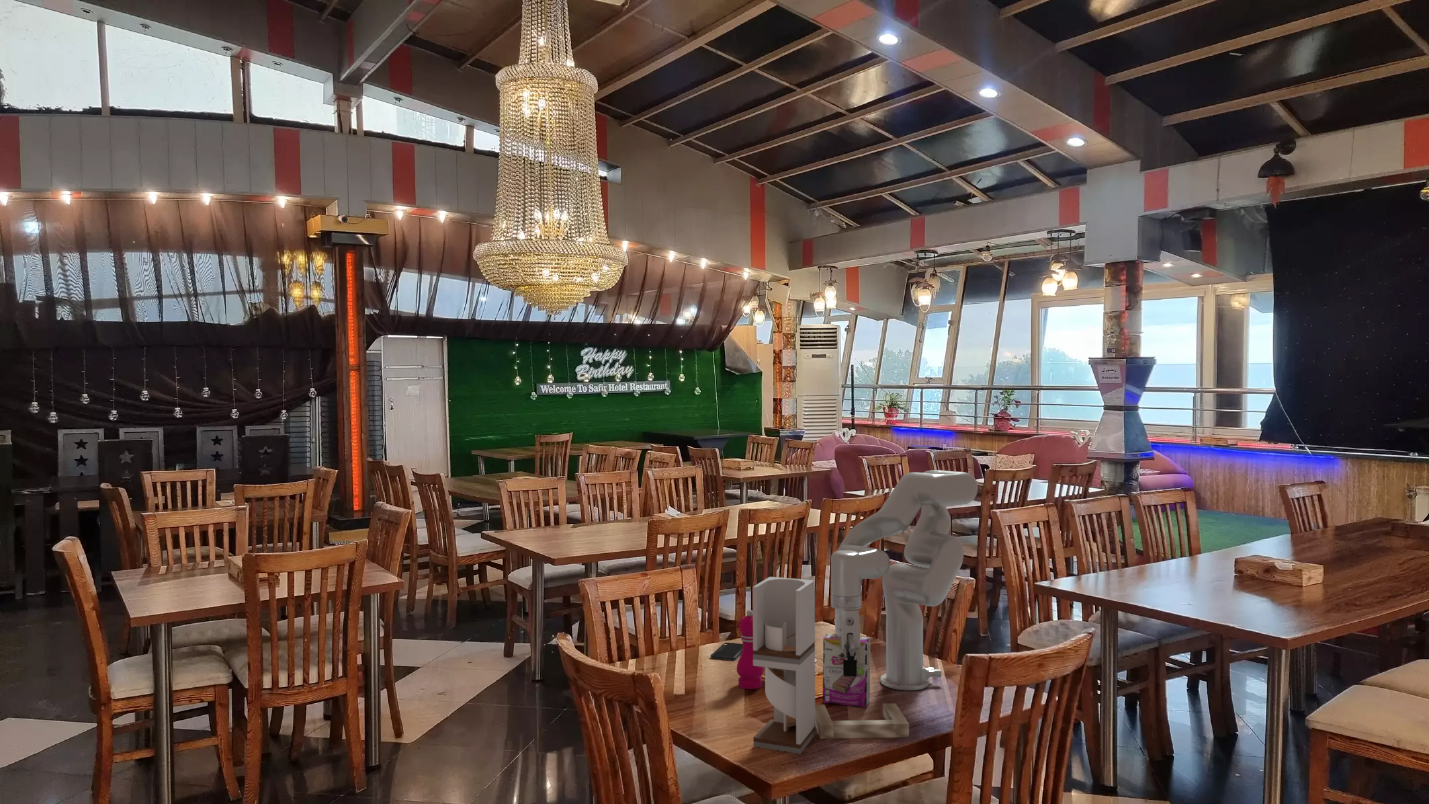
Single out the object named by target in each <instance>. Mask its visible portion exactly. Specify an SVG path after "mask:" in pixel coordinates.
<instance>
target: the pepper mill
mask: <svg viewBox="0 0 1429 804" xmlns="http://www.w3.org/2000/svg"><path fill="white" fill-rule="evenodd" d="M738 629H739V631H740V632H741V634H740V640H741V641H742V644H743V650H742V654H741V656H740V657H739V658H738V661H737V664H736V672H737V674H738V676H739V677H738V687H739V688H741V689H745V690H757V689H760V688H762V686H763V679H762V675H763V674H764V673H765V667H760V666H753V609H752V610H751V609H748V610H747V611H746V615H744V616H743V617H741V619H740V620H739V622H738Z"/></svg>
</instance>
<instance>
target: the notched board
mask: <svg viewBox="0 0 1429 804" xmlns="http://www.w3.org/2000/svg"><path fill="white" fill-rule="evenodd" d="M882 717H883V719H871V720H864V719H863V720H862V719H861V720H859V719H858V720H832V719H831V716H830V714H829V712H828V710H827V708H826V705H825V704H815V730H816V731H817V734H818V736H819V739H821V740H823V739H826V740H827V739H875V738H876V739H878V738H880V739H881V738H883V739H885V738H888V739H889V738H910V723H909V722H908V720H907V718H906V717H905V715H904V714H903V713H902V711H901V709H900V708H899V706H898V704H897V703H882Z"/></svg>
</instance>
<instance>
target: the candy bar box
mask: <svg viewBox="0 0 1429 804" xmlns="http://www.w3.org/2000/svg"><path fill="white" fill-rule="evenodd" d="M822 640H823V641H822V642H823V644H822V647H823V649H822V651H823V652H822V653H823V654H822V656H823V659H822V663H823V664H822V665H823V666H822V702H823V703H824V704H833V705H838V706H839V705H843V706H850V707H859V708H867V707H868V705H870V704H869V703H870V702H871V637H869V636H868V637H867V636H860V641H861V648H860V649H859V650H858V649H856V647H855V650H856V660H857V676H847V677H845V676H844V675H843V660H845V658H844V650H842V649H841V648H840V646H839V640H838V638H837V636H836V634H835V633H826V635H825V636H824V637H823V639H822ZM847 640H848V639H847ZM845 647H849V646H845ZM847 653H848V651H847Z"/></svg>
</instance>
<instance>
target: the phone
mask: <svg viewBox="0 0 1429 804" xmlns="http://www.w3.org/2000/svg"><path fill="white" fill-rule="evenodd" d="M724 644H727V645H724ZM742 650H743V643H736V642H724V643H722V644H721V645H720V646H719V647H717V649H716V650H714V651H713V653H711V654H710V659H712V660H719V661H720V660H722V661H728V662H729V661H731V662H733V661H734V662H735V661H737V660H739V658H740V656H741V654H742Z"/></svg>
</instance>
